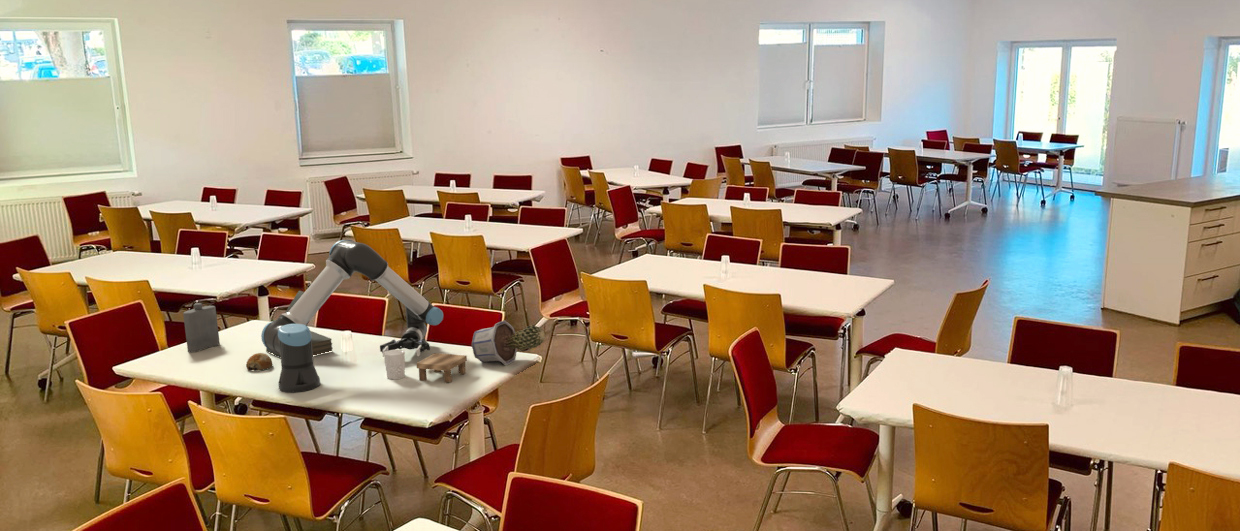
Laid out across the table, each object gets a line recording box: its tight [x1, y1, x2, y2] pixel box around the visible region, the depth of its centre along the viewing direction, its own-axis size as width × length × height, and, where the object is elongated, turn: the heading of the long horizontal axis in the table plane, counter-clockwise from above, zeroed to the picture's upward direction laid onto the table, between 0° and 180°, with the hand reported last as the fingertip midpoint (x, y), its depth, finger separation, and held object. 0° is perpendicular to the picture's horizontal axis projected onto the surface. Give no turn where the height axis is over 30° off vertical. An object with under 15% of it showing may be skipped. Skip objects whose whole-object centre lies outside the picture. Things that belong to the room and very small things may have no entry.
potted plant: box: [471, 319, 546, 366], centre depth 389 cm, size 18×18×30 cm
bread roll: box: [245, 352, 274, 371], centre depth 394 cm, size 10×10×8 cm
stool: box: [416, 352, 467, 384], centre depth 375 cm, size 14×14×7 cm
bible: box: [265, 290, 333, 358], centre depth 413 cm, size 23×20×25 cm
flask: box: [182, 302, 220, 353], centre depth 424 cm, size 15×6×20 cm, turn 149°
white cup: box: [383, 349, 406, 380], centre depth 376 cm, size 8×8×10 cm
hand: (400, 353), depth 385 cm, fingers open, 13 cm apart
